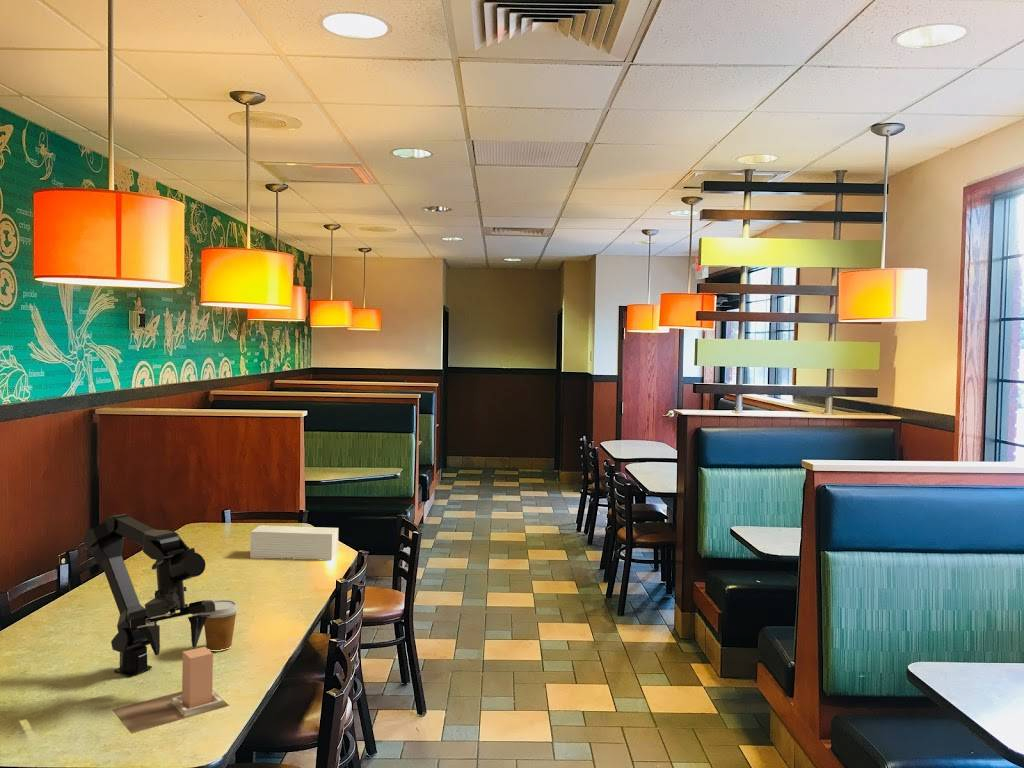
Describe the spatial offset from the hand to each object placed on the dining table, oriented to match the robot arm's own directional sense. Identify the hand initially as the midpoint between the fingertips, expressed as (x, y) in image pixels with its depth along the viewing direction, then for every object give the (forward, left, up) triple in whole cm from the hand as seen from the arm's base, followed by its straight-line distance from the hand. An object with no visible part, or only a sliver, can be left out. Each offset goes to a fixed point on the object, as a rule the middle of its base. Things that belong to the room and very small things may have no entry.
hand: (175, 651), depth 185 cm
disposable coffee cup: (-15, +26, -11) cm, 32 cm away
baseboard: (+6, -6, -11) cm, 14 cm away
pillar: (+10, -2, -9) cm, 14 cm away
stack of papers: (-65, +108, -11) cm, 127 cm away
